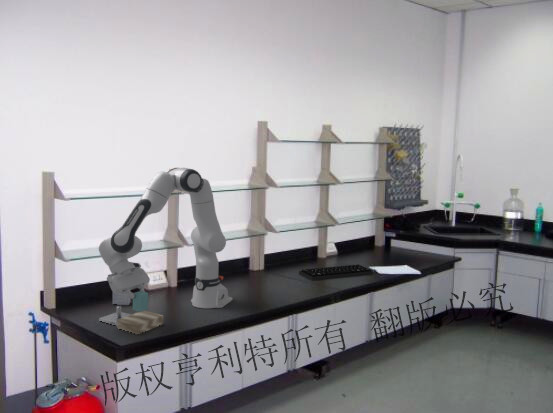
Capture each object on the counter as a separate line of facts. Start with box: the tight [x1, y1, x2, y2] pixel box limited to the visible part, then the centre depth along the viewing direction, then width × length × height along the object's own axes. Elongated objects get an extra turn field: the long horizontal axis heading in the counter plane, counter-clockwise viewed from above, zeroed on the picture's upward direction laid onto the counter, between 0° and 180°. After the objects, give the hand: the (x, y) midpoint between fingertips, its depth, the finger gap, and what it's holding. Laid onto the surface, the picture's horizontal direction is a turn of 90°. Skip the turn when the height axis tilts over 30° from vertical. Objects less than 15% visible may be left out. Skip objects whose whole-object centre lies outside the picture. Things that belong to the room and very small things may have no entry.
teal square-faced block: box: [132, 290, 149, 312], centre depth 244 cm, size 5×5×8 cm
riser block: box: [116, 310, 164, 335], centre depth 245 cm, size 16×12×4 cm
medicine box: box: [112, 292, 132, 306], centre depth 274 cm, size 8×4×9 cm, turn 92°
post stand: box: [98, 305, 132, 327], centre depth 251 cm, size 12×12×6 cm
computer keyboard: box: [298, 264, 374, 282], centre depth 349 cm, size 45×16×4 cm, turn 117°
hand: (139, 296), depth 244 cm, fingers closed on teal square-faced block, 5 cm apart
